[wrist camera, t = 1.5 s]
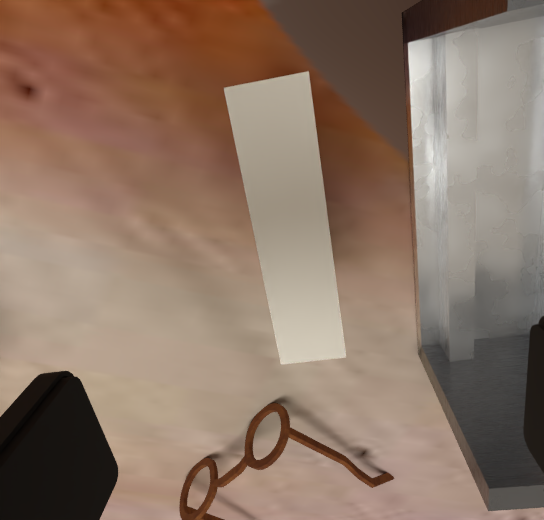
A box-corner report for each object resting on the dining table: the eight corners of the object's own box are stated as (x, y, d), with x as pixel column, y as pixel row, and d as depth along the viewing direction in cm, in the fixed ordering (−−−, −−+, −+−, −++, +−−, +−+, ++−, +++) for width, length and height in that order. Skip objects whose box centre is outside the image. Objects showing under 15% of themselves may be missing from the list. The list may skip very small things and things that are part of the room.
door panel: (251, 84, 24) (223, 88, 15) (303, 74, 23) (308, 71, 14) (285, 272, 28) (281, 364, 19) (329, 266, 28) (346, 357, 19)
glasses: (282, 388, 33) (280, 439, 28) (393, 472, 36) (407, 530, 31) (183, 471, 37) (167, 526, 33) (290, 540, 40) (289, 599, 36)
